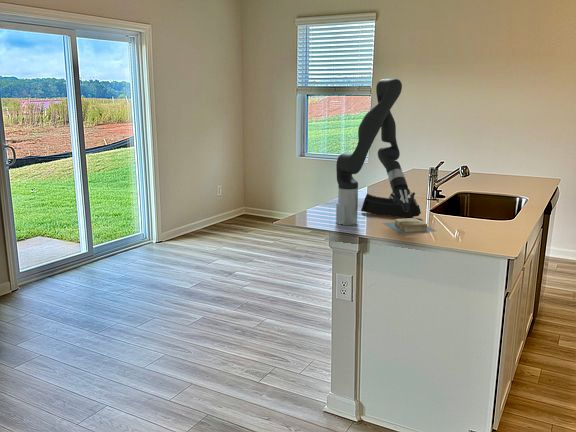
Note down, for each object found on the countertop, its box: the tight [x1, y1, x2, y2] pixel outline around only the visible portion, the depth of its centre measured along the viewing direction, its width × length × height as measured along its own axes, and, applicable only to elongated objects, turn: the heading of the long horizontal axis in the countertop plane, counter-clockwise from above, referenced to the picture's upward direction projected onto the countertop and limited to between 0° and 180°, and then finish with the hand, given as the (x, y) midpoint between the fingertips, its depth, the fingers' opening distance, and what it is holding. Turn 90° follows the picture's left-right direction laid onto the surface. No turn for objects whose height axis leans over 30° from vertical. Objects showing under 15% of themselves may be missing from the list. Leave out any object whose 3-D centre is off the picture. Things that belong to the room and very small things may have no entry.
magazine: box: [360, 192, 422, 218], centre depth 259 cm, size 17×3×30 cm
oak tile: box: [394, 217, 428, 232], centre depth 234 cm, size 3×10×12 cm
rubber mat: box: [382, 221, 437, 234], centre depth 236 cm, size 20×18×1 cm
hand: (407, 210), depth 237 cm, fingers closed
